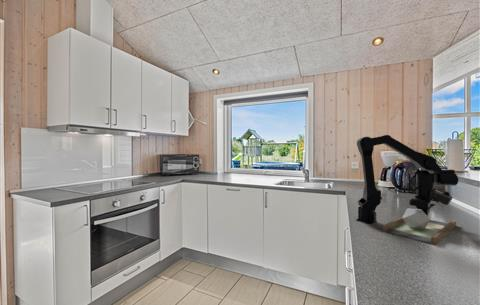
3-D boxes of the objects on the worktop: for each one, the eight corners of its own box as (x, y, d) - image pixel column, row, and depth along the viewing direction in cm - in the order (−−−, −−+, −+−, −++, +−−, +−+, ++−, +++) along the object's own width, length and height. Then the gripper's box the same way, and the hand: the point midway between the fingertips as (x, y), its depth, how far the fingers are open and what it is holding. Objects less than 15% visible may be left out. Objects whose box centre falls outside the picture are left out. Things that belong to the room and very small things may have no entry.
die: (425, 234, 85) (437, 214, 86) (402, 220, 89) (414, 202, 90) (417, 235, 93) (428, 216, 94) (395, 222, 97) (406, 204, 98)
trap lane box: (383, 231, 88) (383, 225, 88) (411, 216, 108) (411, 212, 108) (434, 245, 75) (434, 238, 75) (455, 225, 95) (455, 220, 95)
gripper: (444, 189, 82) (444, 229, 83) (455, 184, 93) (455, 220, 93) (409, 185, 92) (408, 222, 92) (422, 181, 102) (422, 214, 103)
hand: (424, 219), depth 95 cm, fingers closed
